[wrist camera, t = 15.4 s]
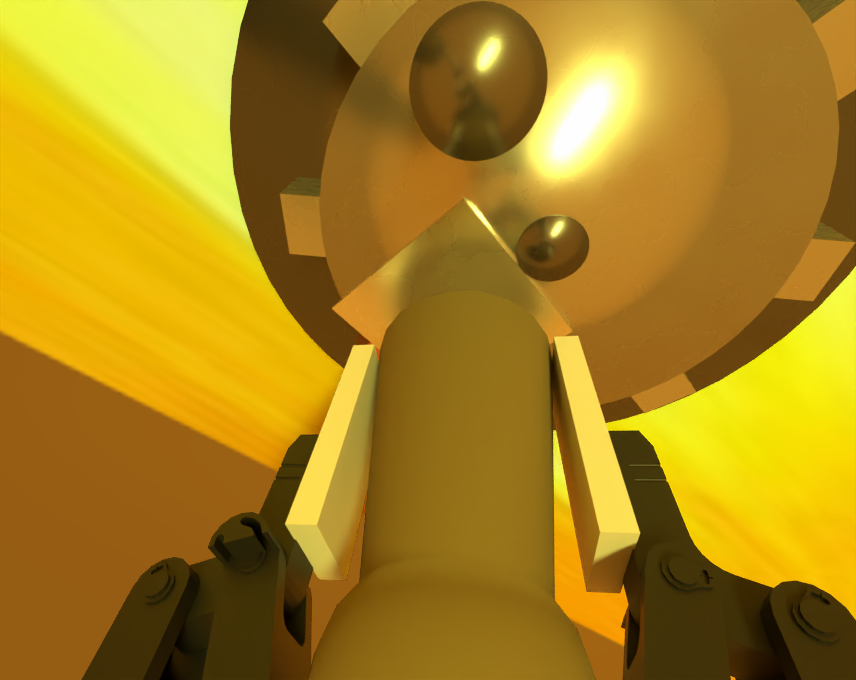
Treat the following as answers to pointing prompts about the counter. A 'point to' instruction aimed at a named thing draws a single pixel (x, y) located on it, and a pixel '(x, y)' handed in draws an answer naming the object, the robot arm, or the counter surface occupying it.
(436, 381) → the pepper mill
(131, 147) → the counter surface
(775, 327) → the plate
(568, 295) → the sprocket
